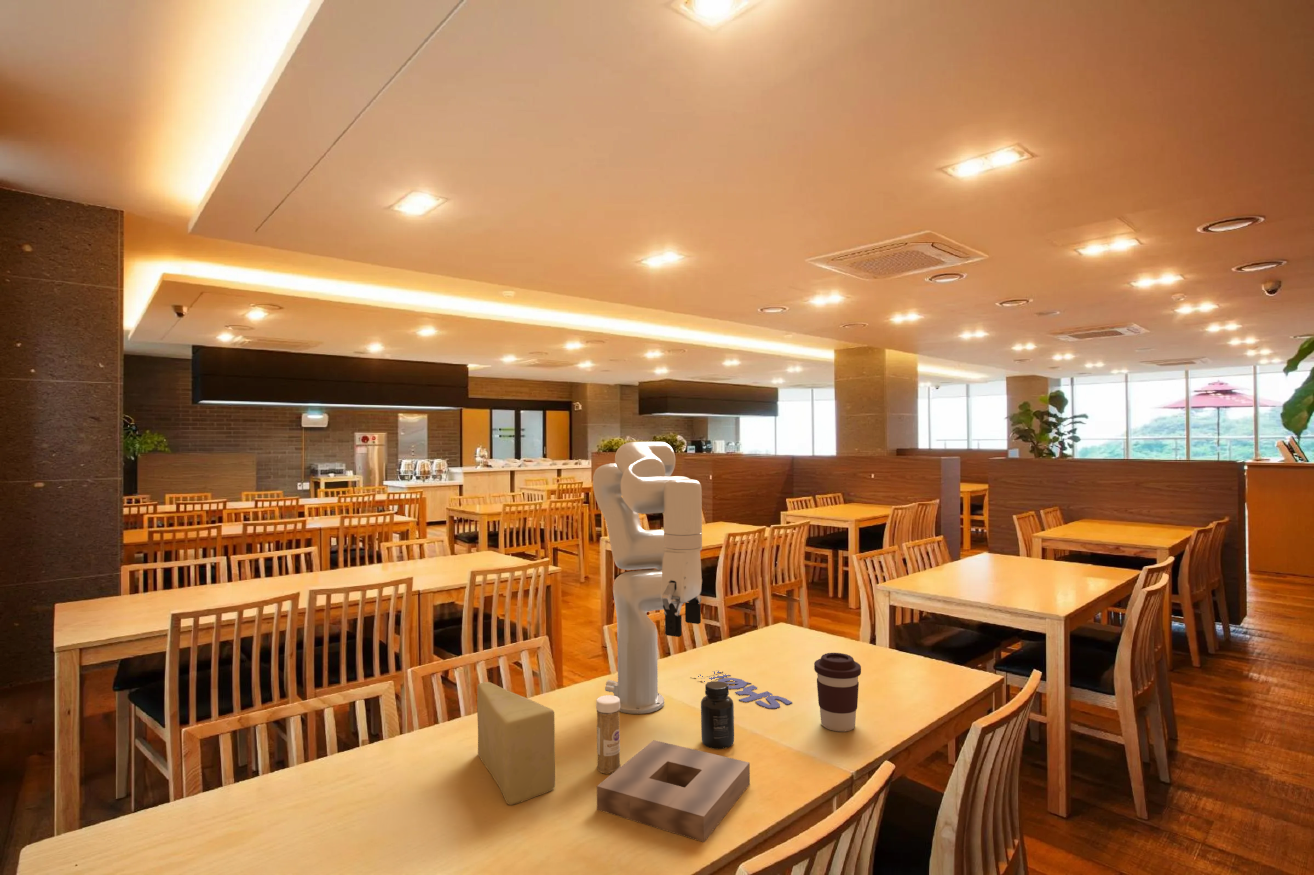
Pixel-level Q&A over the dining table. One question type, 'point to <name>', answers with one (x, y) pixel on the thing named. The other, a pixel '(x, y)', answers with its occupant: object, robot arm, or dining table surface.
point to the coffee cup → (837, 690)
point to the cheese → (516, 742)
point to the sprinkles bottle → (608, 734)
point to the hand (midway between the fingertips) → (683, 629)
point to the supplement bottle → (717, 716)
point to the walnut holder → (675, 789)
